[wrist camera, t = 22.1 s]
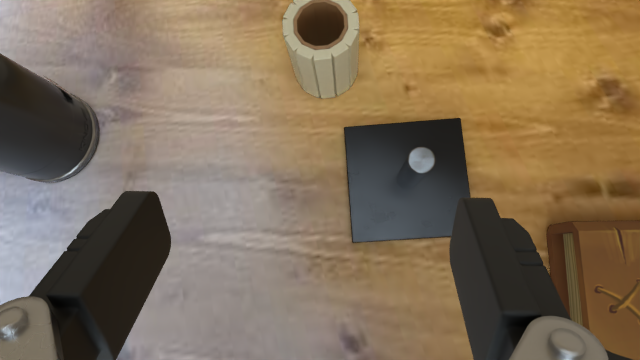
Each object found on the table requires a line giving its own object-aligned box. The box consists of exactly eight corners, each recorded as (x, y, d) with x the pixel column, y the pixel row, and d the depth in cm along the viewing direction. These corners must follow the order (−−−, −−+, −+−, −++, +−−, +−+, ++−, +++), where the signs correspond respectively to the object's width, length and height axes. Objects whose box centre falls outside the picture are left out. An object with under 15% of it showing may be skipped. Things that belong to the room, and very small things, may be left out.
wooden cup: (297, 100, 42) (284, 62, 34) (294, 43, 44) (280, -8, 35) (359, 95, 42) (361, 56, 34) (355, 38, 43) (356, -15, 35)
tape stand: (352, 242, 40) (352, 239, 31) (344, 129, 42) (342, 95, 33) (472, 235, 39) (507, 229, 30) (458, 120, 41) (487, 83, 32)
